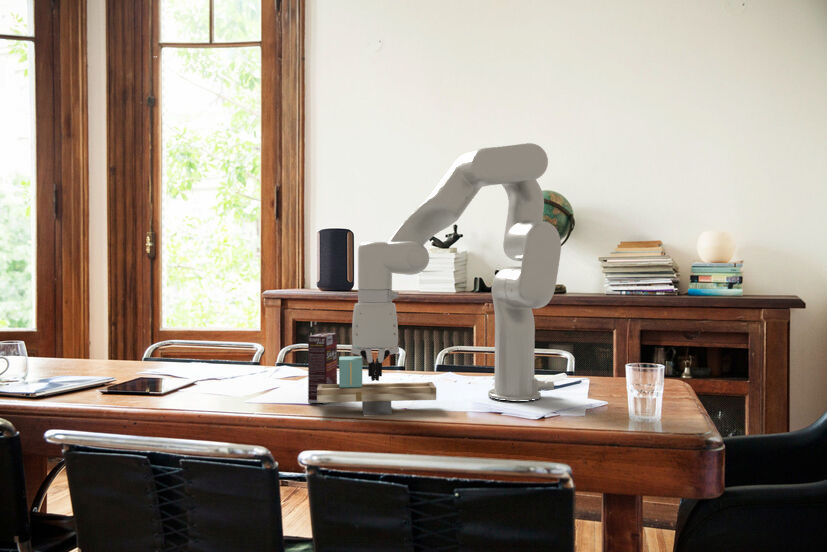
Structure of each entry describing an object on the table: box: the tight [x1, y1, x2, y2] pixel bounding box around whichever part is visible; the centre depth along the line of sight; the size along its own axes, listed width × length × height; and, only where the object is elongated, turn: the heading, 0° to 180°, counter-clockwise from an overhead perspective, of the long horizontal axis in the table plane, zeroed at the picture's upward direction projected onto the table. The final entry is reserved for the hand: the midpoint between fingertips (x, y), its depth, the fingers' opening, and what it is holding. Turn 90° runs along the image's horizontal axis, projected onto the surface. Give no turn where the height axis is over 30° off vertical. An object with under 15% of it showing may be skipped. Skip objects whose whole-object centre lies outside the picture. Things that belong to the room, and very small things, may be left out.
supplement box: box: [307, 332, 338, 405], centre depth 167 cm, size 9×5×16 cm, turn 168°
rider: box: [338, 355, 363, 388], centre depth 155 cm, size 5×5×7 cm
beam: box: [317, 381, 437, 416], centre depth 156 cm, size 26×9×6 cm, turn 96°
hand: (375, 379), depth 156 cm, fingers closed
